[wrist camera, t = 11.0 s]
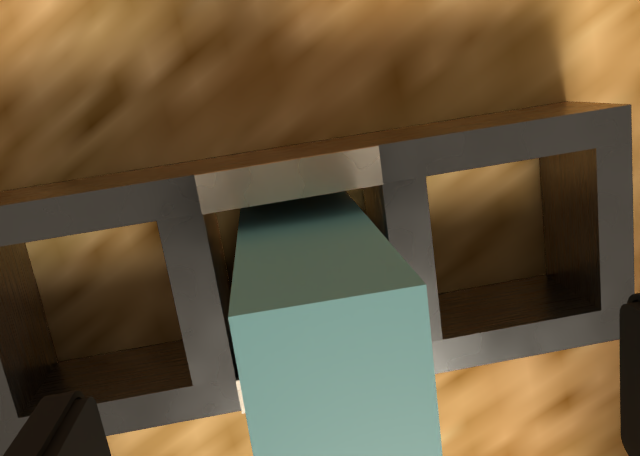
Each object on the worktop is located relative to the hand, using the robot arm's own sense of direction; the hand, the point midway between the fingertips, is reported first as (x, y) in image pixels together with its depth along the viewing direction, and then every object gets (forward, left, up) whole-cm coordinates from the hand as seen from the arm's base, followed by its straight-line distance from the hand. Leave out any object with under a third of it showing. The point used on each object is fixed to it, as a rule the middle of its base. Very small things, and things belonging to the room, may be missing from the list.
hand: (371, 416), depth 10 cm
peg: (0, 0, -13) cm, 13 cm away
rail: (0, 0, -13) cm, 13 cm away
